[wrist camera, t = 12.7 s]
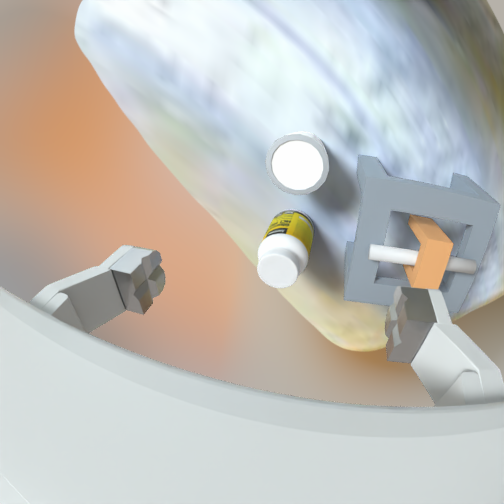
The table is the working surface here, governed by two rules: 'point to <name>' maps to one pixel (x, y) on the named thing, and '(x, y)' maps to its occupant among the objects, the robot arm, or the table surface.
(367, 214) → the square frame with slider
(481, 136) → the table surface
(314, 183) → the shot glass
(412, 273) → the tall tan box
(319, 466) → the robot arm
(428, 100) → the table surface
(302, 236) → the pill bottle
